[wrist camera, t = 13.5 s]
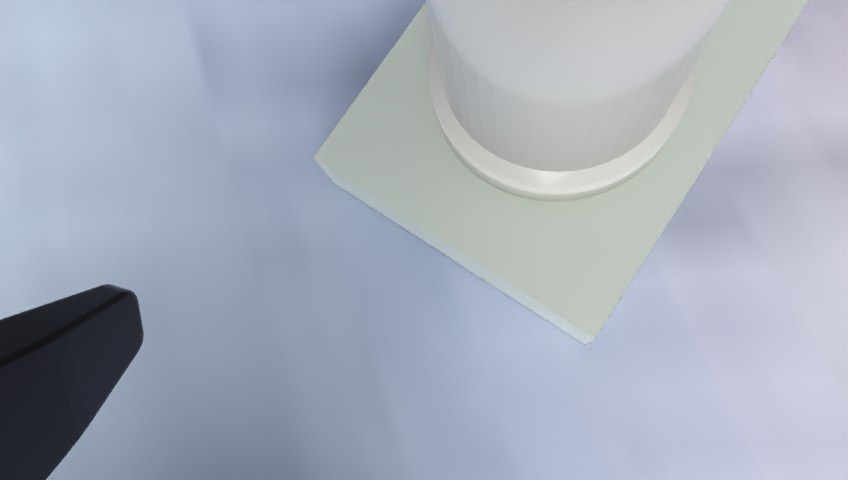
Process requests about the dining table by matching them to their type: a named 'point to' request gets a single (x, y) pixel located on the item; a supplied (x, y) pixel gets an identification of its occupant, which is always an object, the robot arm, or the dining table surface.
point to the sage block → (530, 219)
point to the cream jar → (563, 87)
